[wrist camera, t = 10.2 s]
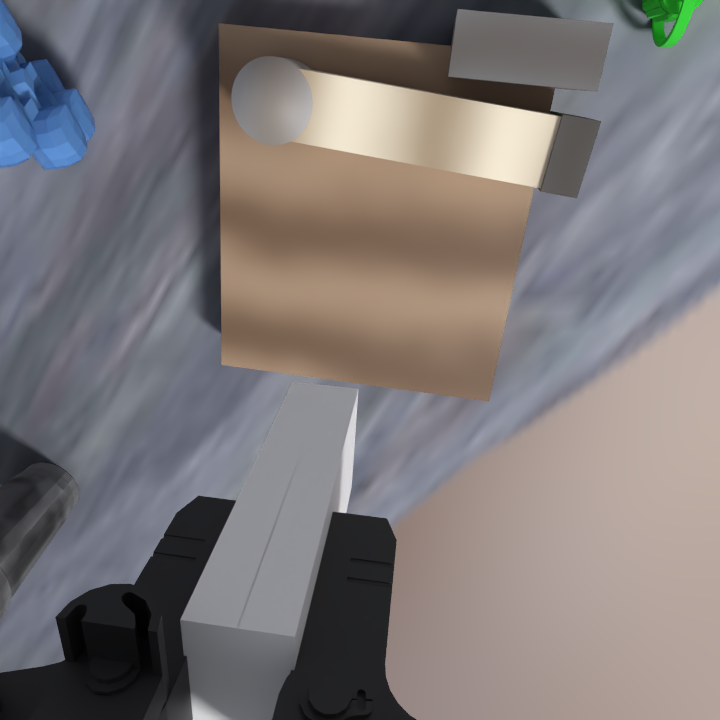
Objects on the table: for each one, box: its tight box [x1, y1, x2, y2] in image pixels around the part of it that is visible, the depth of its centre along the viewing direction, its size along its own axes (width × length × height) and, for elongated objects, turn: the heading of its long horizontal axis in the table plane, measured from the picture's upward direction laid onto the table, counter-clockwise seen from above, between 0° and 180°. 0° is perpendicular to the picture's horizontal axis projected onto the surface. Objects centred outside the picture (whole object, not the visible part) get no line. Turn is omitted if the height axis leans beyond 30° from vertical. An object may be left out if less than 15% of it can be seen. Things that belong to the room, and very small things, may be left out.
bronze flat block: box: [219, 9, 613, 401], centre depth 31 cm, size 19×17×7 cm
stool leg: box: [231, 56, 601, 198], centre depth 28 cm, size 16×4×3 cm, turn 81°
